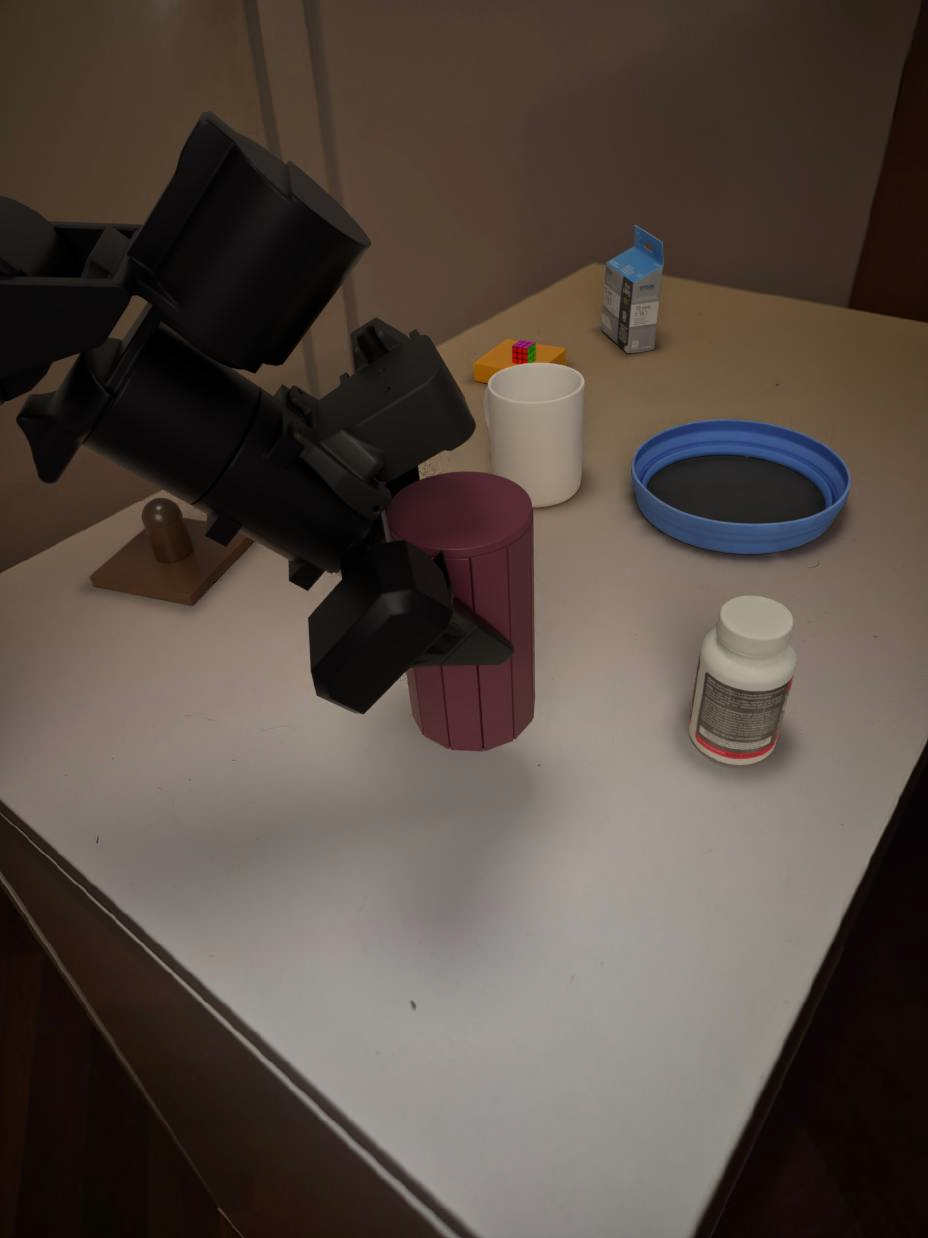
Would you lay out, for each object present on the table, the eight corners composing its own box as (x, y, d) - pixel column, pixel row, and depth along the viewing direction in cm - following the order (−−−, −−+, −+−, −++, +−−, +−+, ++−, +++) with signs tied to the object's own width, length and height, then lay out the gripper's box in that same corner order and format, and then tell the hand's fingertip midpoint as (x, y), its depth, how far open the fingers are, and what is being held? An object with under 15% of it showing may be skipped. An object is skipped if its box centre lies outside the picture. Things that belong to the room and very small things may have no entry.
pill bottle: (792, 757, 51) (826, 636, 45) (710, 776, 50) (733, 656, 44) (749, 697, 55) (775, 579, 49) (673, 714, 54) (690, 596, 48)
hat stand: (192, 605, 67) (171, 542, 63) (92, 586, 70) (66, 524, 66) (257, 538, 74) (241, 477, 70) (164, 522, 77) (143, 464, 73)
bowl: (587, 499, 75) (588, 464, 73) (718, 434, 83) (722, 401, 81) (751, 589, 64) (758, 551, 62) (885, 504, 72) (896, 467, 69)
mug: (454, 468, 81) (446, 366, 75) (523, 442, 85) (521, 342, 78) (526, 520, 73) (524, 411, 67) (600, 490, 76) (604, 383, 70)
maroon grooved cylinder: (487, 770, 43) (474, 566, 35) (388, 717, 46) (355, 520, 38) (557, 693, 47) (560, 494, 39) (462, 649, 50) (446, 458, 42)
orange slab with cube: (473, 380, 97) (471, 345, 94) (507, 356, 102) (506, 321, 99) (534, 392, 93) (534, 356, 91) (566, 366, 99) (567, 330, 96)
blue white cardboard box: (599, 330, 107) (604, 227, 99) (629, 325, 107) (636, 223, 100) (626, 355, 100) (633, 247, 92) (657, 349, 101) (667, 242, 93)
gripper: (357, 387, 24) (679, 618, 32) (326, 226, 39) (554, 414, 47) (162, 634, 29) (489, 784, 37) (199, 406, 43) (429, 551, 51)
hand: (493, 610), depth 43 cm, fingers closed on maroon grooved cylinder, 7 cm apart
